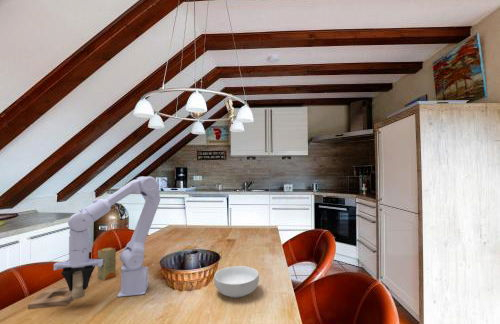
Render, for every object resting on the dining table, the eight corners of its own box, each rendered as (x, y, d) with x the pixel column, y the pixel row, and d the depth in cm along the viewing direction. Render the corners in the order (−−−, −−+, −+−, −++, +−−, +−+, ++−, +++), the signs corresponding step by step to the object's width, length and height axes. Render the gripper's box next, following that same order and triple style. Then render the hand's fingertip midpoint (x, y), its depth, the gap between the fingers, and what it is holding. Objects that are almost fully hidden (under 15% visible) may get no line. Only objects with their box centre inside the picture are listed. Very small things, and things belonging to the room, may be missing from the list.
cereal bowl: (218, 283, 106) (217, 265, 106) (258, 283, 105) (258, 265, 105) (210, 304, 89) (210, 283, 89) (259, 304, 88) (258, 283, 89)
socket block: (83, 289, 101) (83, 285, 101) (68, 304, 89) (68, 300, 89) (48, 292, 99) (48, 288, 99) (27, 309, 87) (27, 304, 87)
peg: (86, 293, 91) (87, 270, 91) (82, 298, 87) (82, 274, 87) (75, 294, 90) (75, 271, 90) (70, 299, 86) (70, 275, 87)
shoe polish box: (104, 280, 110) (104, 251, 110) (97, 278, 112) (98, 250, 113) (115, 276, 114) (115, 248, 114) (109, 274, 116) (109, 247, 117)
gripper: (106, 243, 94) (106, 281, 94) (61, 246, 91) (60, 286, 91) (99, 249, 87) (98, 290, 87) (50, 252, 85) (49, 295, 84)
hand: (78, 289), depth 89 cm, fingers closed on peg, 4 cm apart
